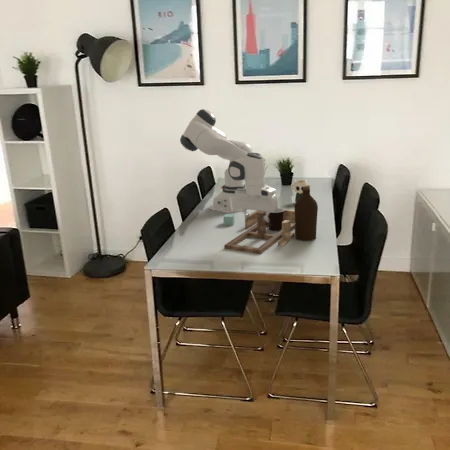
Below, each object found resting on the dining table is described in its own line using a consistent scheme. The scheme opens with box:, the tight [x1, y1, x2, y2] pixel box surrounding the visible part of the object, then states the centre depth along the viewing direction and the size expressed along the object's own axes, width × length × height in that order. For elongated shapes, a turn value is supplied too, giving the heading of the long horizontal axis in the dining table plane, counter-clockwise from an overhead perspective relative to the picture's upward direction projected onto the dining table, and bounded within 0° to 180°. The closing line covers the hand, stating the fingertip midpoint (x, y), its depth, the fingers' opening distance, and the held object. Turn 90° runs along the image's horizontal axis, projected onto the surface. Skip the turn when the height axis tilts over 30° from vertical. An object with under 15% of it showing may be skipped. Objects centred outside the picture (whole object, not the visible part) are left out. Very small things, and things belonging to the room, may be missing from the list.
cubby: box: [244, 209, 296, 236], centre depth 259 cm, size 28×20×6 cm
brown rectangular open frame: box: [223, 211, 295, 255], centre depth 241 cm, size 18×41×13 cm, turn 151°
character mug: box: [290, 179, 311, 203], centre depth 299 cm, size 11×7×13 cm, turn 80°
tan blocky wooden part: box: [277, 220, 295, 247], centre depth 236 cm, size 3×14×10 cm, turn 151°
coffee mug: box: [268, 207, 285, 232], centre depth 255 cm, size 12×9×10 cm
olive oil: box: [294, 185, 319, 242], centre depth 237 cm, size 11×11×25 cm
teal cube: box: [222, 213, 236, 226], centre depth 266 cm, size 5×5×5 cm
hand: (256, 219), depth 234 cm, fingers open, 8 cm apart
